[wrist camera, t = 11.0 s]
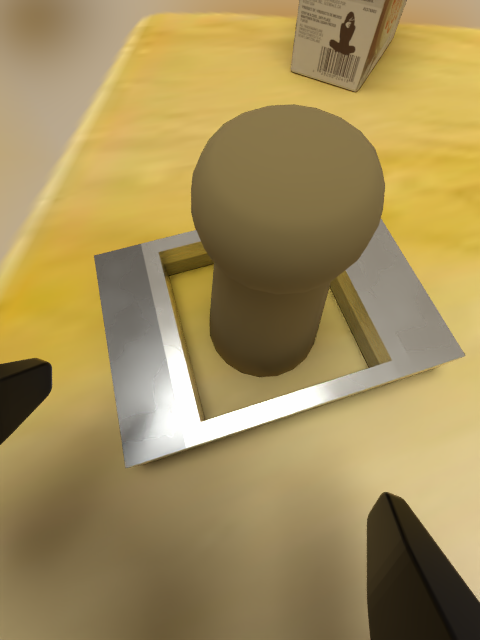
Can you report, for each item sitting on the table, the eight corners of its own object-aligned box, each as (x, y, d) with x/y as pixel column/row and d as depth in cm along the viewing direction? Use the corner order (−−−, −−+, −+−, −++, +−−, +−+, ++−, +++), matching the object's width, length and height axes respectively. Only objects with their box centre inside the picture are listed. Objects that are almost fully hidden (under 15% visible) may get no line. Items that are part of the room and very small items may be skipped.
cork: (298, 268, 18) (367, 52, 8) (331, 363, 16) (483, 224, 6) (200, 288, 18) (147, 84, 8) (220, 388, 16) (183, 285, 6)
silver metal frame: (143, 464, 14) (125, 468, 12) (111, 278, 18) (93, 255, 16) (434, 368, 16) (465, 355, 14) (348, 217, 20) (362, 188, 18)
